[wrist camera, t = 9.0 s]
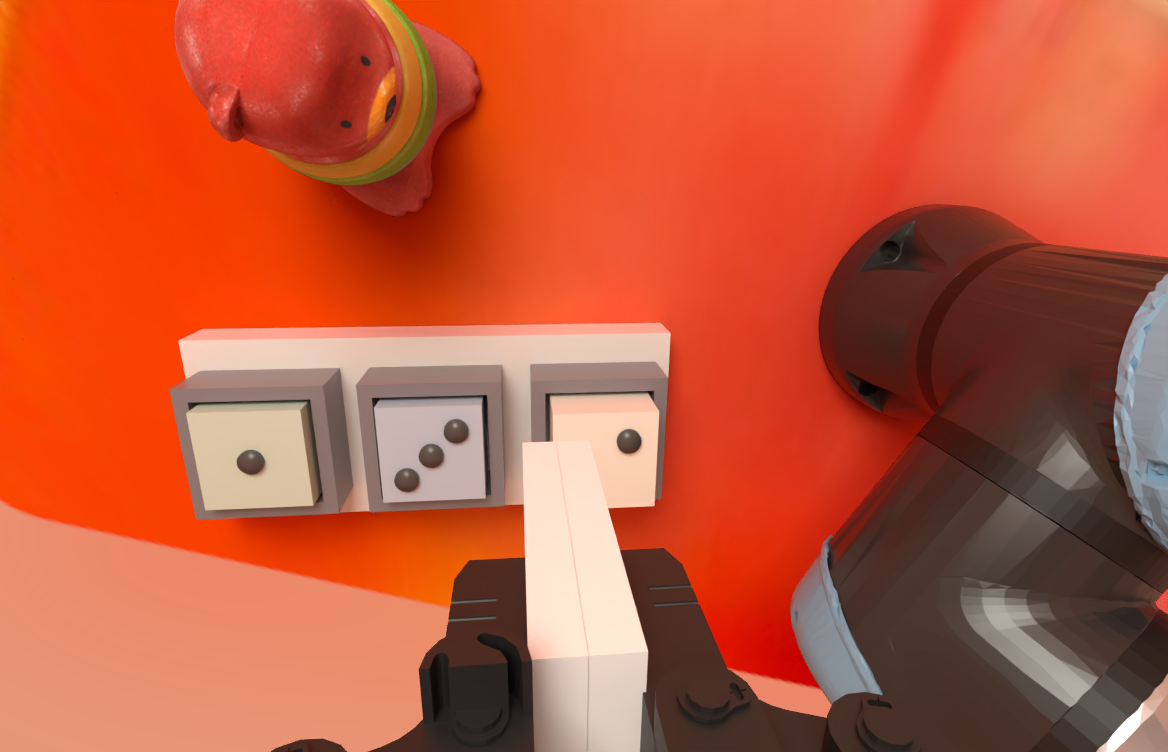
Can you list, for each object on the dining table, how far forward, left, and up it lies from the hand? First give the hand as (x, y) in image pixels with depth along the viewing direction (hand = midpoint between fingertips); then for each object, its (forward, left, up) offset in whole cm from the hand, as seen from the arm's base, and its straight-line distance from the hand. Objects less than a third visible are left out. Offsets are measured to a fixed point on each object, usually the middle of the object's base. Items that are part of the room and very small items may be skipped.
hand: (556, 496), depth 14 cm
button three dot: (+6, +9, -25) cm, 27 cm away
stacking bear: (+9, -11, -29) cm, 32 cm away
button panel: (+6, +8, -28) cm, 30 cm away
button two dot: (-4, +9, -23) cm, 25 cm away
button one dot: (+16, +9, -25) cm, 31 cm away
